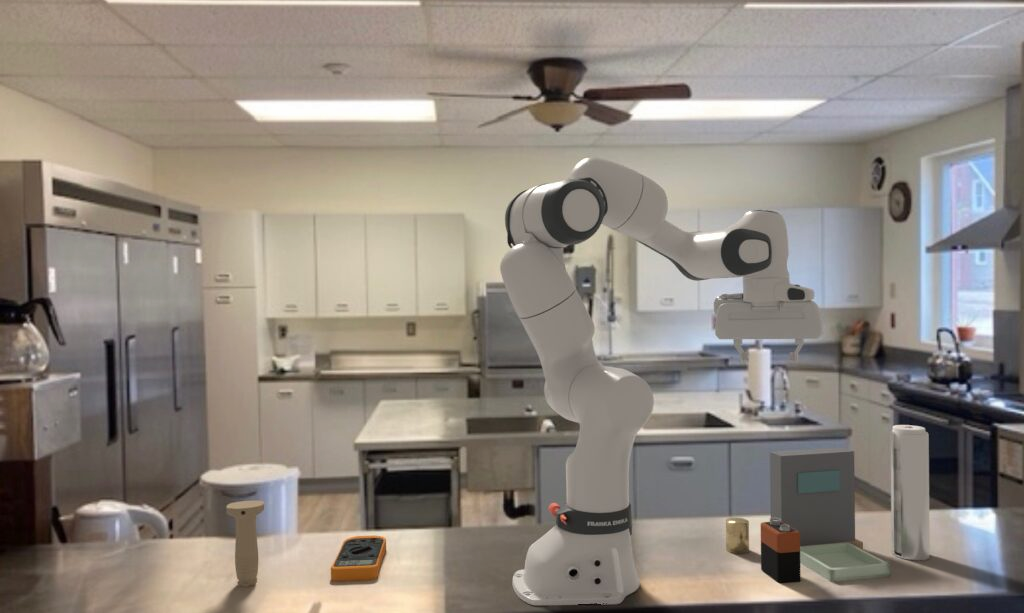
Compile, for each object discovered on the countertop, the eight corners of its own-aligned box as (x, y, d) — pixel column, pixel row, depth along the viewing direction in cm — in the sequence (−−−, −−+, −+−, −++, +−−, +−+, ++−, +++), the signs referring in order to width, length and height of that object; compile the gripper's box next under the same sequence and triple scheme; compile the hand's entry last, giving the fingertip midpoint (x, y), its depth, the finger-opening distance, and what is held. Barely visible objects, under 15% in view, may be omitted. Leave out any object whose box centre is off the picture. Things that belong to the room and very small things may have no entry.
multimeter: (387, 550, 152) (387, 533, 151) (377, 584, 134) (376, 565, 134) (345, 551, 151) (345, 535, 151) (329, 586, 133) (329, 567, 133)
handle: (263, 590, 131) (261, 507, 131) (226, 593, 130) (223, 509, 130) (267, 580, 136) (265, 499, 135) (231, 583, 135) (229, 502, 134)
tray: (830, 582, 130) (830, 570, 130) (792, 558, 141) (792, 547, 141) (890, 576, 132) (890, 564, 132) (848, 553, 144) (848, 542, 144)
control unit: (780, 557, 142) (778, 457, 142) (763, 547, 148) (762, 451, 147) (863, 549, 145) (861, 452, 145) (843, 540, 151) (842, 445, 151)
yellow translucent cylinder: (732, 555, 144) (732, 525, 144) (722, 548, 148) (721, 518, 148) (753, 553, 144) (753, 523, 144) (742, 546, 149) (741, 516, 149)
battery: (781, 568, 136) (781, 515, 136) (801, 583, 130) (801, 527, 129) (760, 570, 136) (759, 517, 136) (778, 585, 129) (778, 528, 129)
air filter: (934, 561, 138) (933, 430, 138) (897, 559, 140) (896, 429, 139) (922, 549, 145) (921, 423, 144) (887, 548, 146) (886, 423, 146)
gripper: (710, 294, 148) (712, 363, 148) (819, 291, 138) (822, 364, 139) (716, 293, 153) (719, 359, 154) (822, 290, 144) (824, 360, 144)
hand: (768, 361), depth 146 cm, fingers open, 8 cm apart
